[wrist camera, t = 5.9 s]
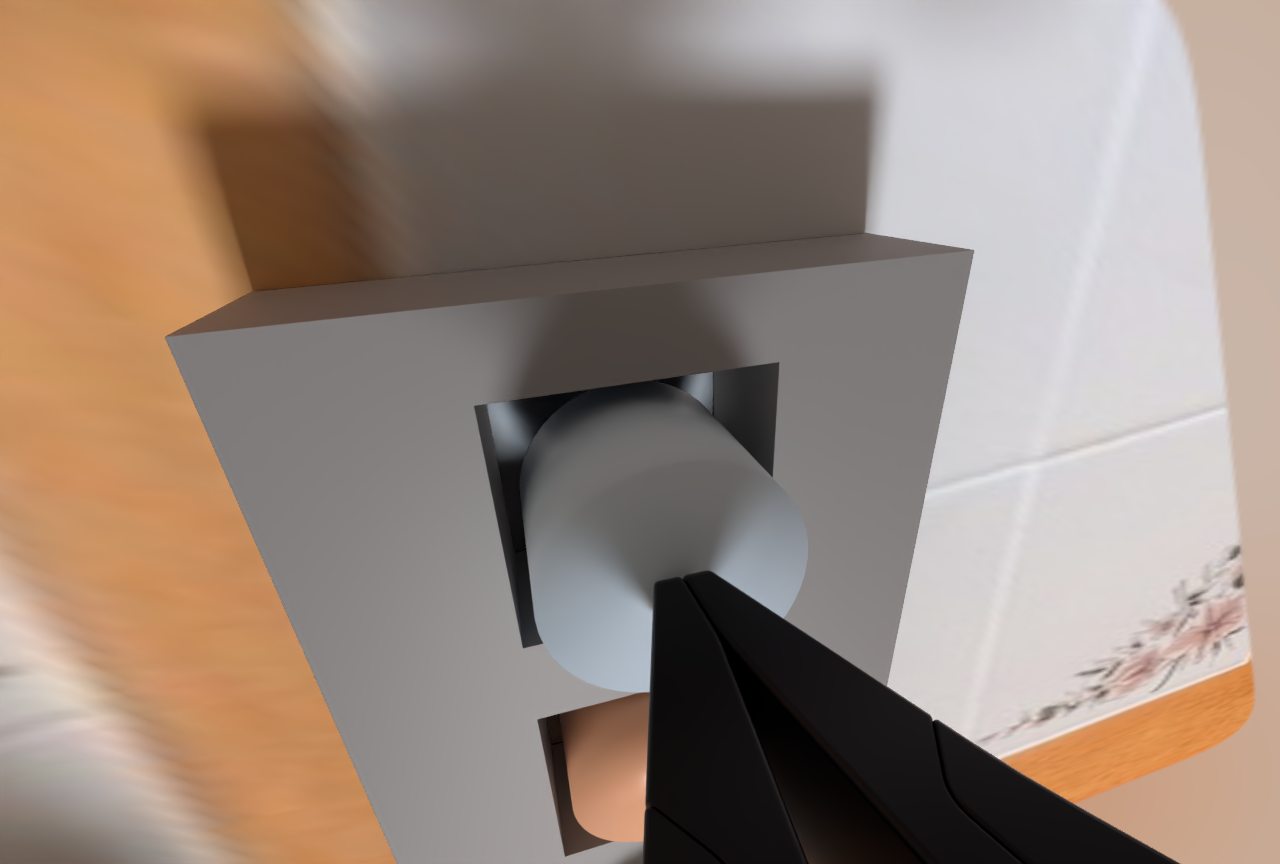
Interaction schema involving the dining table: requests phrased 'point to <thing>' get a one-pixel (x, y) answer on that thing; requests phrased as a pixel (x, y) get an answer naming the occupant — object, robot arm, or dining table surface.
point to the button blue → (644, 523)
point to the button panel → (474, 501)
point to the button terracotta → (608, 766)
